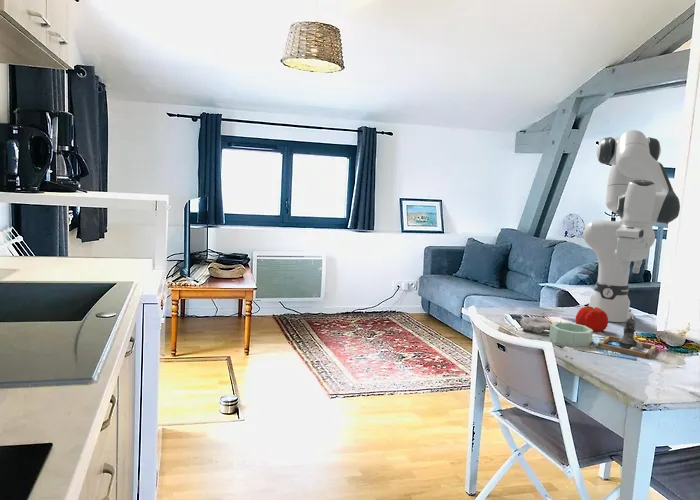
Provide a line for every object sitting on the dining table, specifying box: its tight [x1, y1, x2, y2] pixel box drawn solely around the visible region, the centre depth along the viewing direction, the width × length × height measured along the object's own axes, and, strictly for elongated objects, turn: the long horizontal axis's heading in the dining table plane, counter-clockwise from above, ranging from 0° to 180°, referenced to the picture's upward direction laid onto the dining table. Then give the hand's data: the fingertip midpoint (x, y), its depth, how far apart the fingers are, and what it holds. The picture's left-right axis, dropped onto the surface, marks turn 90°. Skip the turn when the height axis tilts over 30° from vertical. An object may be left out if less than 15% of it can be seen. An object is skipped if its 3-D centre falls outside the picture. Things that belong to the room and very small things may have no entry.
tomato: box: [575, 305, 609, 332], centre depth 204 cm, size 11×11×9 cm
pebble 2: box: [635, 340, 644, 350], centre depth 184 cm, size 3×3×3 cm
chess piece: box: [618, 317, 639, 349], centre depth 181 cm, size 6×6×12 cm
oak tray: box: [597, 334, 657, 360], centre depth 182 cm, size 13×15×2 cm
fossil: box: [519, 316, 552, 334], centre depth 202 cm, size 9×6×10 cm
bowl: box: [548, 321, 594, 348], centre depth 188 cm, size 12×12×6 cm
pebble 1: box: [630, 347, 641, 352], centre depth 177 cm, size 3×3×3 cm
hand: (630, 274), depth 181 cm, fingers open, 8 cm apart
